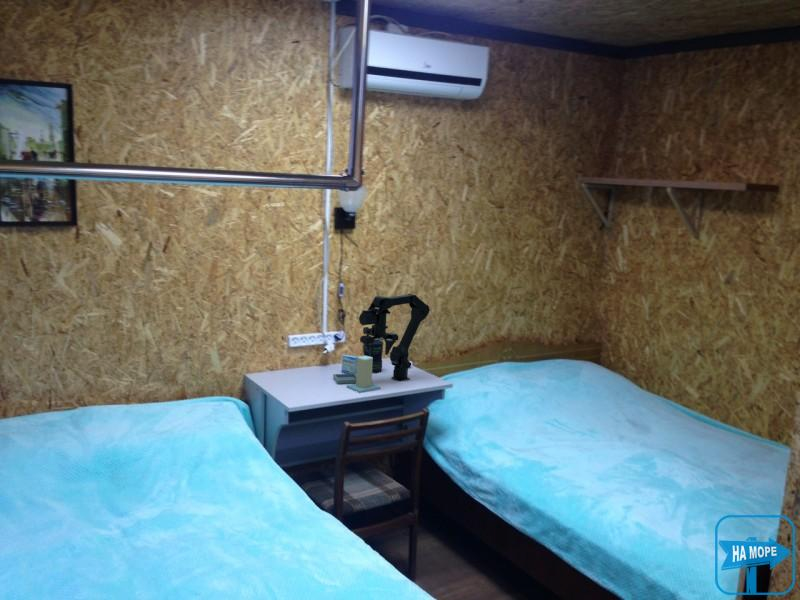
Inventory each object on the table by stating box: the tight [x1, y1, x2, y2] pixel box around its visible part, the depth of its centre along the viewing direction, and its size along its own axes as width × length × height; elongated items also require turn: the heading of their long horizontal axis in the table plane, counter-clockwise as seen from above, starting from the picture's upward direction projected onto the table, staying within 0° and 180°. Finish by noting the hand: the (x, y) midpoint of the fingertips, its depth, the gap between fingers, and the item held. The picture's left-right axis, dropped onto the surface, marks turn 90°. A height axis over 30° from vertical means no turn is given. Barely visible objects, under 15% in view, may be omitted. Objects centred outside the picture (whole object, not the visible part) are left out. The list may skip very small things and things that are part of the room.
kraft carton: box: [356, 355, 373, 388], centre depth 311 cm, size 5×5×14 cm
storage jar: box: [362, 340, 384, 374], centre depth 343 cm, size 10×10×15 cm
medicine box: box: [341, 354, 360, 375], centre depth 337 cm, size 8×4×9 cm, turn 62°
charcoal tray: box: [332, 373, 357, 385], centre depth 323 cm, size 11×11×2 cm
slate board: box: [346, 383, 382, 394], centre depth 313 cm, size 12×10×1 cm
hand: (378, 356), depth 321 cm, fingers open, 9 cm apart
